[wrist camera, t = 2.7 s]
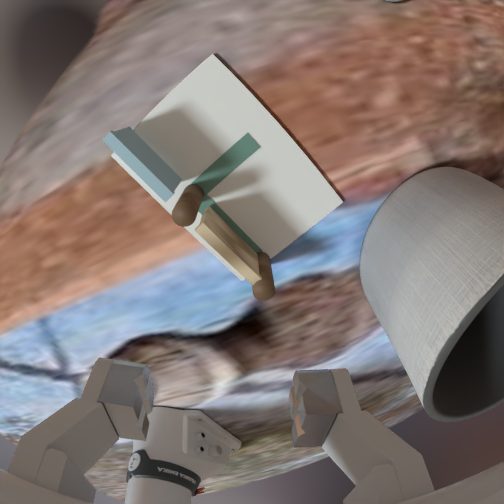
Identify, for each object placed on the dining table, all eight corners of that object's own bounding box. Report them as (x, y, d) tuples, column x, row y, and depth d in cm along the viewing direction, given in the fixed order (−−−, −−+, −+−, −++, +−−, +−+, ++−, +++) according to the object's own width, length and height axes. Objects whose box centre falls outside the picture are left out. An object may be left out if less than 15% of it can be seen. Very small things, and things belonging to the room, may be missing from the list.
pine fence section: (273, 259, 38) (279, 291, 32) (259, 270, 38) (262, 304, 32) (194, 178, 33) (183, 198, 27) (179, 192, 34) (166, 214, 28)
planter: (504, 251, 39) (583, 326, 21) (398, 338, 45) (449, 442, 27) (457, 128, 31) (586, 176, 13) (320, 240, 37) (380, 369, 19)
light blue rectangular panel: (184, 179, 32) (173, 194, 27) (176, 186, 32) (165, 202, 28) (129, 125, 29) (110, 131, 24) (122, 132, 30) (102, 140, 25)
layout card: (342, 201, 35) (343, 202, 34) (242, 279, 39) (242, 281, 39) (212, 54, 27) (212, 53, 27) (112, 155, 31) (110, 155, 31)
